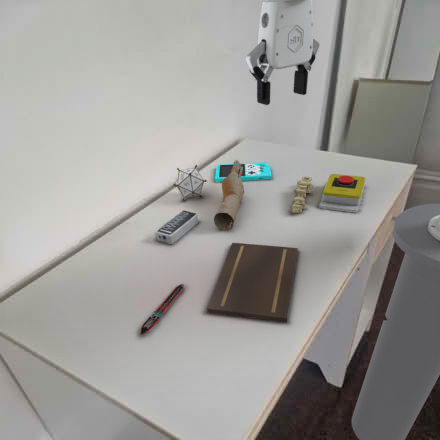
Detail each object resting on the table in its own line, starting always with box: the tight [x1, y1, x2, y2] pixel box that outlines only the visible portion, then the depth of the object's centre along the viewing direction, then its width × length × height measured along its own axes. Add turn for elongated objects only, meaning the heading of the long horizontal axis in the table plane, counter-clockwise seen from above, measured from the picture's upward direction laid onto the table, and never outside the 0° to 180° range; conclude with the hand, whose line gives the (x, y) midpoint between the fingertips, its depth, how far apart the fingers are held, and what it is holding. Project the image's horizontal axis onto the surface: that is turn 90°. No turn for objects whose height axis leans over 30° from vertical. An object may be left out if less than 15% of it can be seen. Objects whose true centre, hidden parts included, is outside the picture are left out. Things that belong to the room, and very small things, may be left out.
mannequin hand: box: [213, 159, 245, 231], centre depth 93 cm, size 7×7×25 cm
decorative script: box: [291, 176, 313, 214], centre depth 94 cm, size 17×4×3 cm, turn 165°
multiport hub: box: [155, 209, 199, 245], centre depth 86 cm, size 4×11×2 cm, turn 148°
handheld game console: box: [214, 161, 272, 183], centre depth 108 cm, size 10×16×1 cm, turn 88°
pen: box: [140, 283, 185, 335], centre depth 67 cm, size 2×14×1 cm, turn 154°
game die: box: [172, 164, 208, 202], centre depth 97 cm, size 9×8×10 cm
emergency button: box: [318, 173, 366, 214], centre depth 93 cm, size 9×4×15 cm
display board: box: [206, 242, 299, 323], centre depth 71 cm, size 14×21×1 cm, turn 166°
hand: (282, 98), depth 75 cm, fingers open, 9 cm apart
